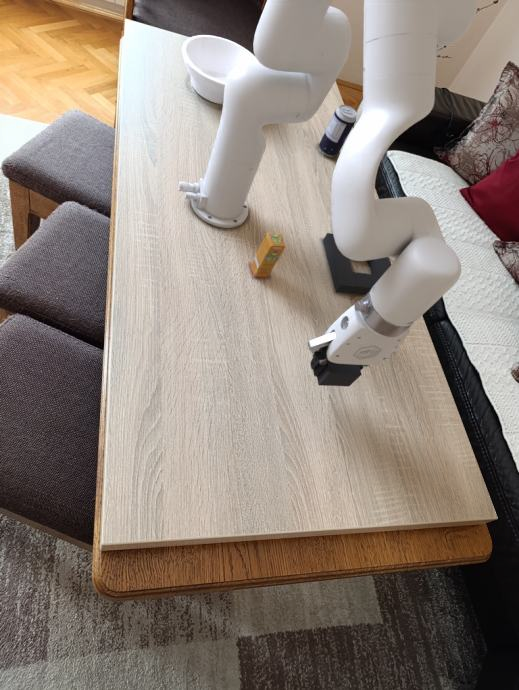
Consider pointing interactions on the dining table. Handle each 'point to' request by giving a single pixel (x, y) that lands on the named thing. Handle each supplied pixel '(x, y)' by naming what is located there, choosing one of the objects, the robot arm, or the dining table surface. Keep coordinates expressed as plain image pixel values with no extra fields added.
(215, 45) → the bowl
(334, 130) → the beverage can
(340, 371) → the black square block
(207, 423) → the dining table surface
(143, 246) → the dining table surface
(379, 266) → the socket pad
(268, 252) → the supplement box
